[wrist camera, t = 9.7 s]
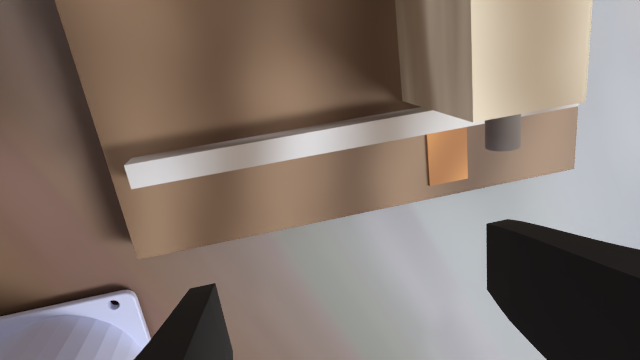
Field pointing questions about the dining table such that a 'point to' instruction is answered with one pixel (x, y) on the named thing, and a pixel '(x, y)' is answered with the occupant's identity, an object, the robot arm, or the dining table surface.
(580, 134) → the dining table surface
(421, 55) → the block
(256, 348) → the dining table surface
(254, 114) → the walnut board
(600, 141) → the dining table surface
